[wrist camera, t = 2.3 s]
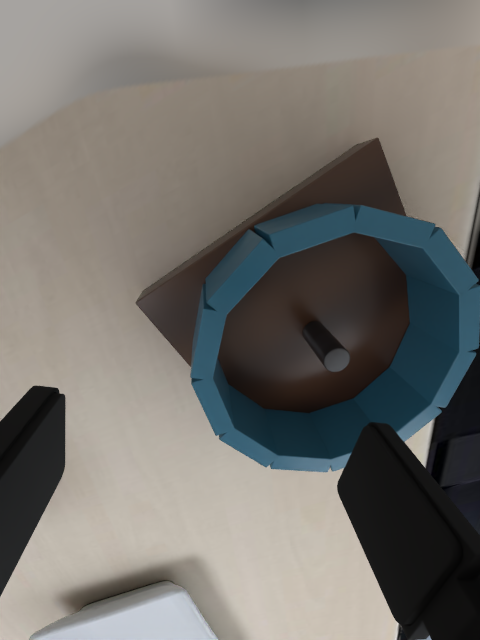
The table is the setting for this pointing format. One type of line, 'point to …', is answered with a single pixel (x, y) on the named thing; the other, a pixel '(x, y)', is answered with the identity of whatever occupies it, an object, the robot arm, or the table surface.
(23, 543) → the robot arm
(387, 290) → the platform
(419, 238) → the ring
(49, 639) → the tray
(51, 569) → the table surface
